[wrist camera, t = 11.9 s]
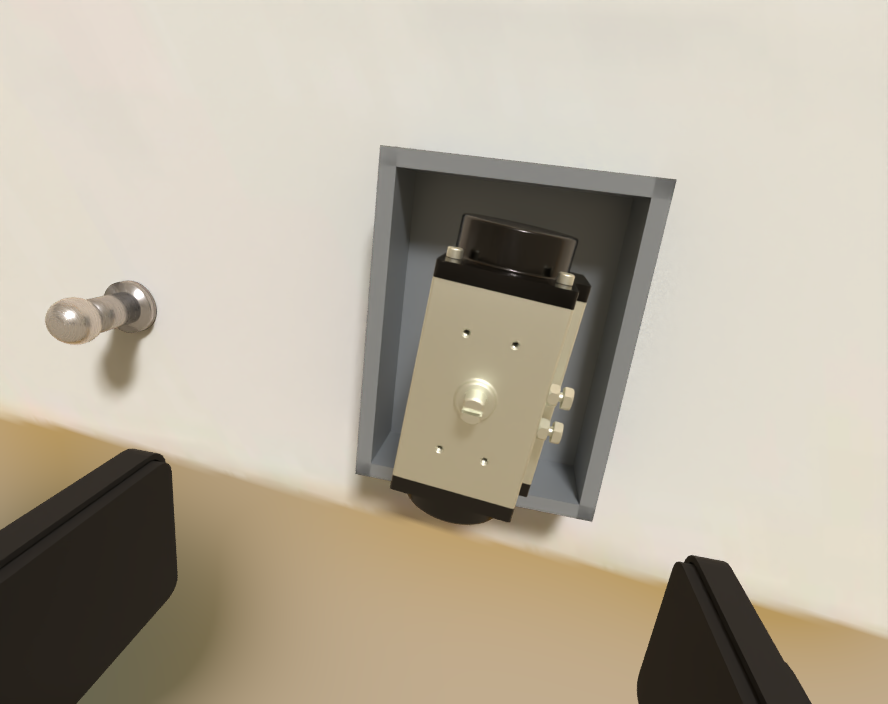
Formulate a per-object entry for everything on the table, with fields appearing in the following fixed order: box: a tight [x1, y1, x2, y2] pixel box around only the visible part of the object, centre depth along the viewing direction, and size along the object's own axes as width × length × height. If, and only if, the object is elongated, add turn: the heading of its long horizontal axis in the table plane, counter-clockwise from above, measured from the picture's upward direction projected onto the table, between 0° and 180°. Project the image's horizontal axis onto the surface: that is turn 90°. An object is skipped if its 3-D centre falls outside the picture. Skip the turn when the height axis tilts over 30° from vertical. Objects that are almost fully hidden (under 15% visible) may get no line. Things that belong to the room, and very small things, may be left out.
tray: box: [356, 145, 676, 522], centre depth 26 cm, size 13×17×5 cm
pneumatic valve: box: [390, 213, 592, 525], centre depth 22 cm, size 6×12×12 cm, turn 168°
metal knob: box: [45, 281, 156, 345], centre depth 29 cm, size 3×3×6 cm
